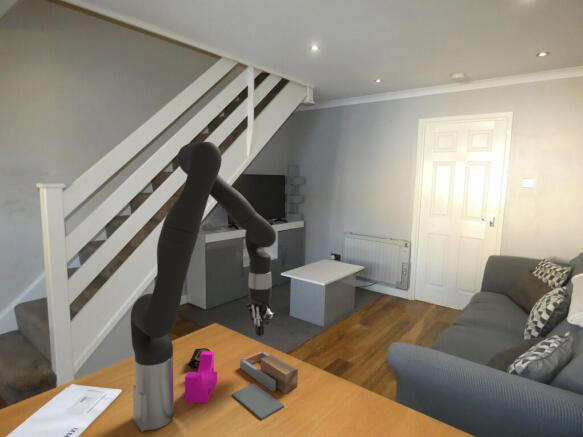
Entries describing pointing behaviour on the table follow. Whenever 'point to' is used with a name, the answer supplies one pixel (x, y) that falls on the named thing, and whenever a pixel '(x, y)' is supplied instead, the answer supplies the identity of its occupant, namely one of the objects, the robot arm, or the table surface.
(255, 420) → the table surface
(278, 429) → the table surface
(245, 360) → the channel
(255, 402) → the mat
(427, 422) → the table surface
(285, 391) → the block
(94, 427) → the table surface
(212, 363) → the toy block
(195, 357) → the tape measure
